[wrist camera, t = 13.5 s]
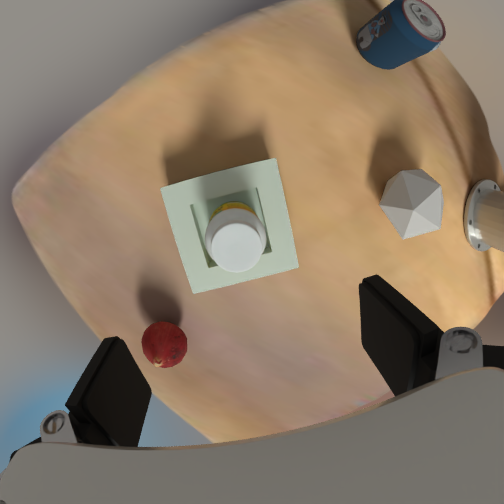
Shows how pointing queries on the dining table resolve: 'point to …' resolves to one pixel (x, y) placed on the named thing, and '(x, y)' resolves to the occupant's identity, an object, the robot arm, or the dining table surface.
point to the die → (413, 203)
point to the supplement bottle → (235, 237)
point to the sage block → (213, 195)
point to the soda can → (400, 34)
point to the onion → (164, 344)
